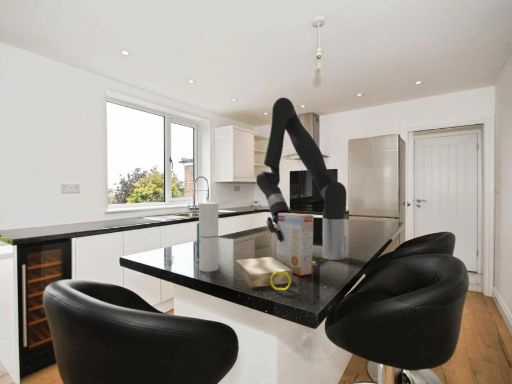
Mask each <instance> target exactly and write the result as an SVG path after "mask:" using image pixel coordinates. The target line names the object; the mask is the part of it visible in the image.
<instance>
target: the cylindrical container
mask: <svg viewBox="0 0 512 384" xmlns="http://www.w3.org/2000/svg"><path fill="white" fill-rule="evenodd" d="M198 223H199V259H198V260H199V265H198V266H199V267H198V268H199V271H201V272H205V273H207V272H208V273H210V272H211V273H212V272H215V271H218V270H219V263H220V260H219V202H199V203H198Z"/></svg>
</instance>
